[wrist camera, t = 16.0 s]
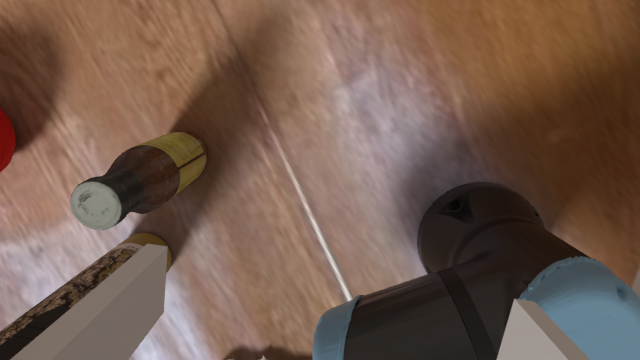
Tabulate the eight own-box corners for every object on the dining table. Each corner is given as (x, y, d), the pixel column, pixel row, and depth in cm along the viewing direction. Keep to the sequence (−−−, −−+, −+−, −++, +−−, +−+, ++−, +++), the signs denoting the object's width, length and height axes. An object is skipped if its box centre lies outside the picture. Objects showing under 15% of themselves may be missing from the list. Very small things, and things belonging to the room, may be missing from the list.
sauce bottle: (155, 134, 49) (39, 164, 29) (204, 126, 48) (119, 151, 29) (167, 185, 50) (65, 246, 31) (215, 178, 50) (142, 234, 30)
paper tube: (134, 221, 51) (-44, 342, 27) (181, 245, 52) (50, 383, 27) (115, 264, 53) (-70, 415, 28) (161, 286, 53) (20, 453, 29)
